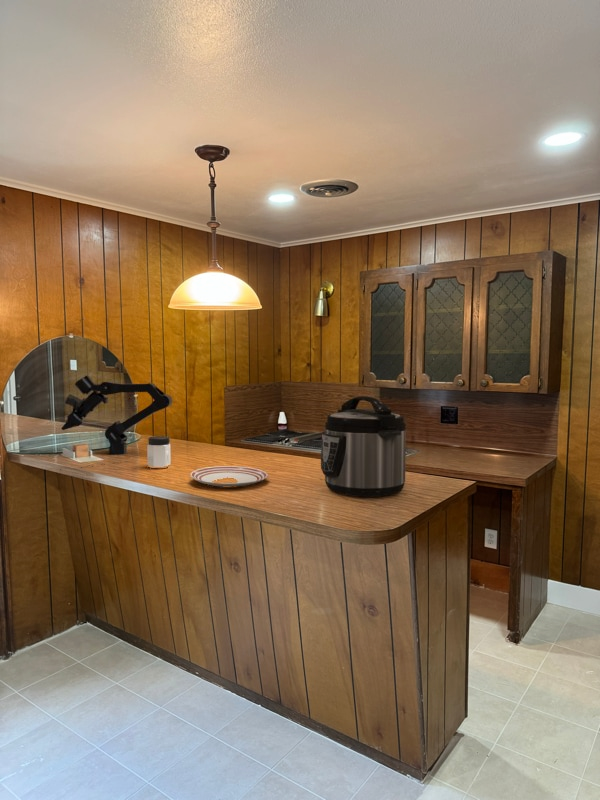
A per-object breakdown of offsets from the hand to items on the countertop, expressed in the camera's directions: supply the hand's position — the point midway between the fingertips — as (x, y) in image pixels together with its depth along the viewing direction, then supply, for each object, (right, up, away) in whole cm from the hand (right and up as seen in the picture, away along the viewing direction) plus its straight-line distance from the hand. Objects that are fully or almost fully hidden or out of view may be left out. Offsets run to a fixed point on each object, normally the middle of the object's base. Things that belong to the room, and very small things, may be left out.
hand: (64, 425), depth 242 cm
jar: (+47, -16, -20) cm, 53 cm away
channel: (+11, -14, -7) cm, 19 cm away
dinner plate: (+78, -18, -44) cm, 91 cm away
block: (+10, -13, -7) cm, 17 cm away
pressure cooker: (+124, -19, -55) cm, 137 cm away
